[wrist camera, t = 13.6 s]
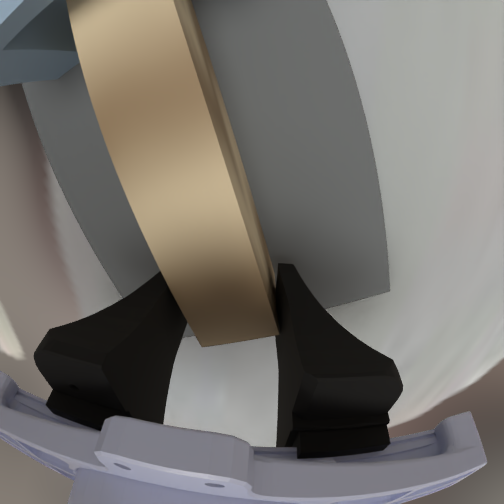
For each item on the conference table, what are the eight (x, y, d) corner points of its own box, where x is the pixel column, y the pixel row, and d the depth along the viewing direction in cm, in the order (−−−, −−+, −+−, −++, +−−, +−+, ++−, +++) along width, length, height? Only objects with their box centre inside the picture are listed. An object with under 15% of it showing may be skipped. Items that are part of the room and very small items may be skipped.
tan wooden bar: (104, -39, 6) (57, -68, 2) (168, -67, 6) (137, -111, 2) (213, 285, 14) (201, 349, 11) (274, 272, 14) (279, 336, 10)
